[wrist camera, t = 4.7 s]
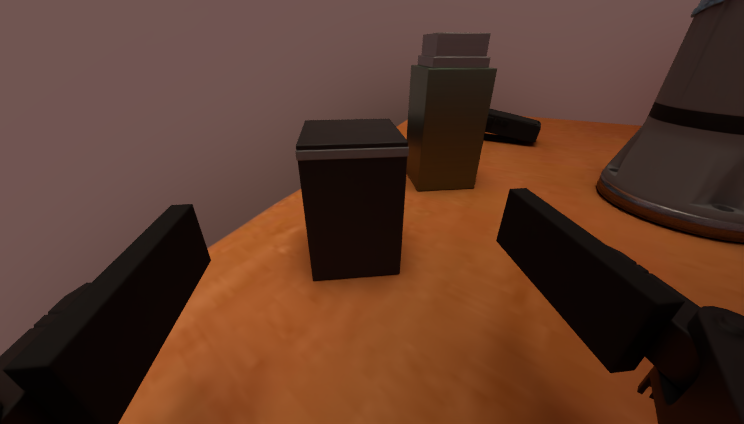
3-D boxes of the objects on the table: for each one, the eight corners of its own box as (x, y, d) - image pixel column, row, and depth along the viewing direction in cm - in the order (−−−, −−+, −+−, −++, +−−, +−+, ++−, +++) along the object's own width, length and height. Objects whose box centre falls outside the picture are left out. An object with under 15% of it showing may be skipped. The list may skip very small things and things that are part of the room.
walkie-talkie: (538, 137, 47) (421, 113, 54) (529, 155, 53) (425, 132, 60) (548, 105, 48) (433, 86, 55) (538, 126, 54) (435, 107, 61)
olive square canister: (453, 167, 41) (472, 35, 33) (474, 188, 35) (504, 32, 27) (404, 169, 40) (413, 34, 32) (417, 191, 34) (431, 32, 26)
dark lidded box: (386, 227, 27) (390, 118, 22) (400, 274, 22) (409, 141, 17) (316, 232, 27) (304, 120, 22) (312, 281, 21) (294, 145, 16)
